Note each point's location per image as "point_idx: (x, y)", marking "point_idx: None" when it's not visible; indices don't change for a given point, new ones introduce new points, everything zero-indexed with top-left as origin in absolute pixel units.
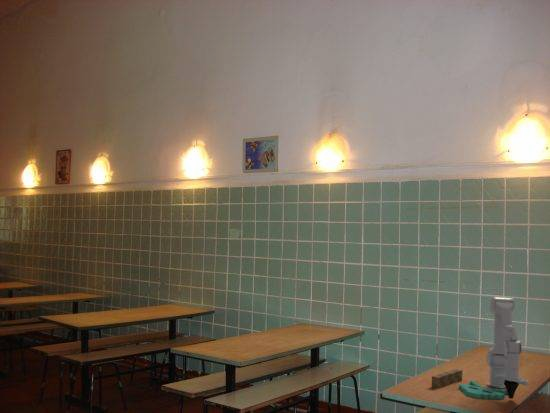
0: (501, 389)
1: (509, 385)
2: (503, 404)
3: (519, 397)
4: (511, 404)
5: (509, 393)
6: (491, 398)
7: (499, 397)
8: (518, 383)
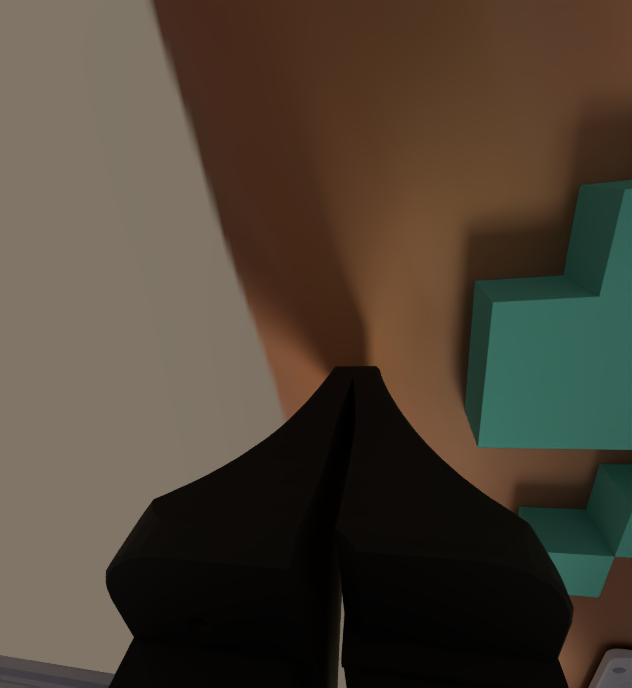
0: (589, 581)
1: (306, 501)
2: (318, 50)
3: None
4: (250, 200)
5: (355, 398)
6: (628, 180)
7: (503, 290)
8: (91, 673)
